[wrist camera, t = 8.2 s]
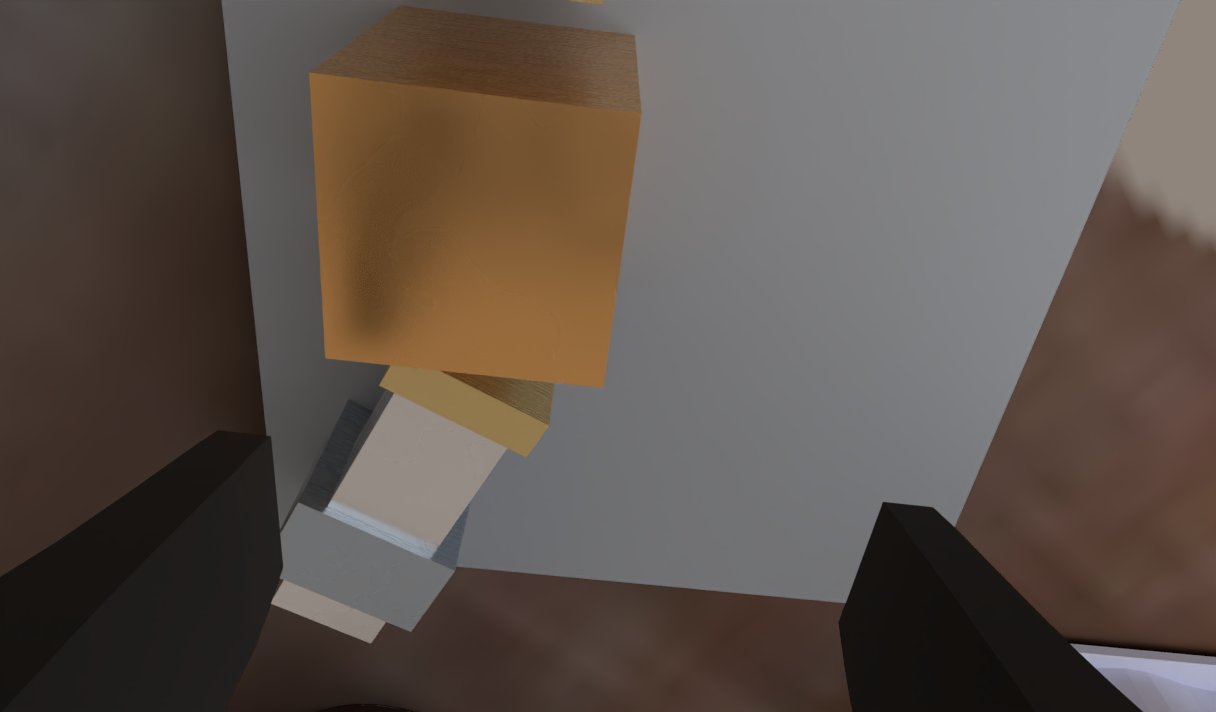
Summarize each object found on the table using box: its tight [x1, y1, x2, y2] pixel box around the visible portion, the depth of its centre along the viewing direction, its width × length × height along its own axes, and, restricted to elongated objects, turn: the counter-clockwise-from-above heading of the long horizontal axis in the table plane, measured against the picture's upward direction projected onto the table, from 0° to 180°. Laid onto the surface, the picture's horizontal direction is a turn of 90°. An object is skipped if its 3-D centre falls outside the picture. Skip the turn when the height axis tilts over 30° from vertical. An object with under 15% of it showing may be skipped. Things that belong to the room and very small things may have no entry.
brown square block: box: [309, 5, 642, 388], centre depth 14 cm, size 4×4×5 cm
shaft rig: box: [271, 0, 603, 643], centre depth 14 cm, size 6×20×4 cm, turn 173°
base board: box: [222, 0, 1181, 603], centre depth 16 cm, size 16×22×2 cm
